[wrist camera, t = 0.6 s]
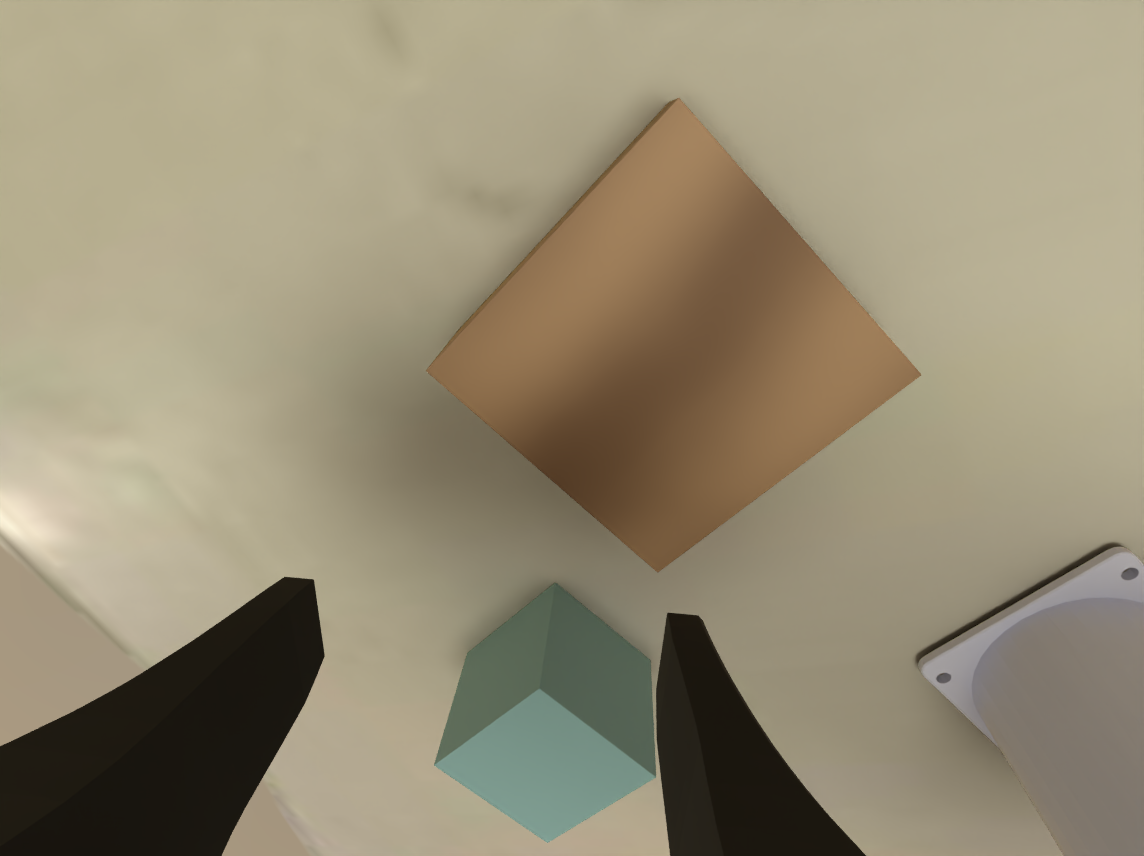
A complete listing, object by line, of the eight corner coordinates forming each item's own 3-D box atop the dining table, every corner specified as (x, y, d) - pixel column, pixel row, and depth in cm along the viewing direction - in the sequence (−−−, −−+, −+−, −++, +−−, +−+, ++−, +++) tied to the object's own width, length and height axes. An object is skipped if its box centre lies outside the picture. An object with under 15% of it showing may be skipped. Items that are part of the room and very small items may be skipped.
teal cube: (650, 658, 26) (656, 777, 21) (560, 721, 28) (547, 842, 23) (555, 581, 25) (539, 688, 20) (467, 651, 27) (434, 765, 22)
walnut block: (868, 328, 20) (921, 374, 17) (652, 502, 23) (657, 572, 20) (668, 102, 18) (679, 97, 14) (459, 328, 21) (425, 370, 17)
